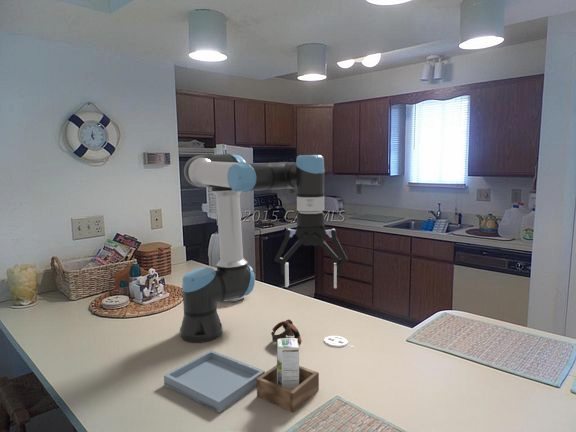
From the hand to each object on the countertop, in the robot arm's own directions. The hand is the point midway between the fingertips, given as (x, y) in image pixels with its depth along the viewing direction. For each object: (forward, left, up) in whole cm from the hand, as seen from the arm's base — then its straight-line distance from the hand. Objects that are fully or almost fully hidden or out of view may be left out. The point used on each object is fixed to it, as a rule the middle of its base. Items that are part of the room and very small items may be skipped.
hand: (310, 286), depth 113 cm
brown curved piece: (-19, +14, -28) cm, 37 cm away
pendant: (-4, +23, -28) cm, 36 cm away
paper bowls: (-66, +35, -27) cm, 79 cm away
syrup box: (-1, -11, -27) cm, 29 cm away
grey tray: (-21, -19, -27) cm, 39 cm away
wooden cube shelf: (-1, -11, -27) cm, 29 cm away
